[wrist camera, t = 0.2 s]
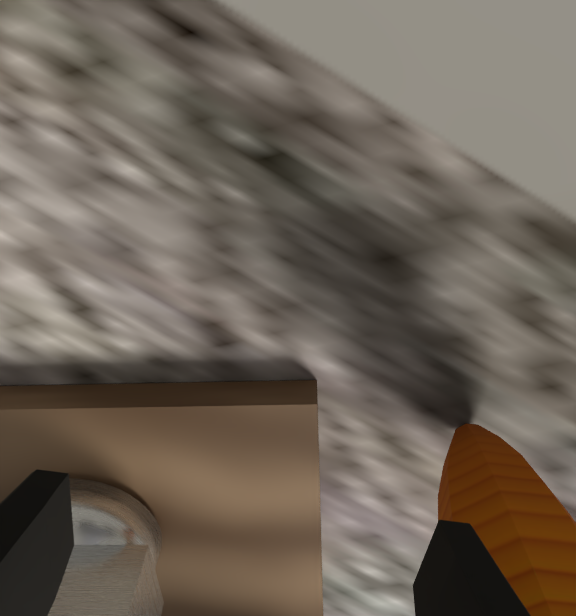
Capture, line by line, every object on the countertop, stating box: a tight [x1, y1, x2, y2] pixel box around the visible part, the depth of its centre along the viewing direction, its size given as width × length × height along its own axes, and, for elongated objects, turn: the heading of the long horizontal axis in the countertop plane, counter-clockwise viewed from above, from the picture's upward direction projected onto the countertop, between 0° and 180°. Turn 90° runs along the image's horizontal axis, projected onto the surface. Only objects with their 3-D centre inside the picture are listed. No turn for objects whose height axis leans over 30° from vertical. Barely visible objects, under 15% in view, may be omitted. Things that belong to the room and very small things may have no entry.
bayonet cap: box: [48, 478, 164, 616], centre depth 20 cm, size 6×7×7 cm
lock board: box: [0, 380, 323, 616], centre depth 24 cm, size 13×20×2 cm, turn 93°
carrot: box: [438, 424, 576, 616], centre depth 15 cm, size 5×5×15 cm
